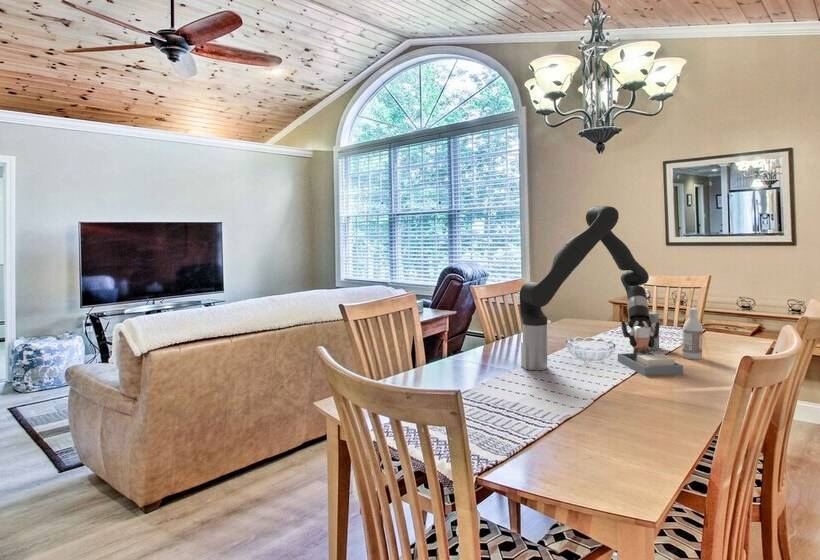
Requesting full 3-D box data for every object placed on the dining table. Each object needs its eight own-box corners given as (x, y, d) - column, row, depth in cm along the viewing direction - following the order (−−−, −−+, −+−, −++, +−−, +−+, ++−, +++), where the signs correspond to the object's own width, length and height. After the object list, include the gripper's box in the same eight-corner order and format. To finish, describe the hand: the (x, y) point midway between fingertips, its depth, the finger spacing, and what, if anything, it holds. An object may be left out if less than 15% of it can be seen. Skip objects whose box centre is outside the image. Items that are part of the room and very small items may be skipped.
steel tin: (637, 362, 190) (638, 328, 189) (630, 358, 196) (630, 326, 195) (652, 362, 191) (653, 328, 189) (644, 358, 196) (645, 325, 195)
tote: (644, 378, 178) (644, 367, 178) (617, 363, 198) (617, 353, 198) (682, 376, 179) (683, 365, 179) (652, 362, 199) (652, 352, 198)
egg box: (647, 373, 180) (647, 360, 180) (637, 368, 187) (637, 355, 187) (674, 372, 181) (674, 358, 180) (663, 367, 188) (663, 354, 187)
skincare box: (655, 351, 216) (656, 314, 214) (637, 349, 220) (638, 313, 219) (659, 347, 223) (660, 311, 221) (642, 345, 227) (643, 310, 225)
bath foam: (698, 360, 199) (700, 310, 197) (679, 357, 204) (681, 309, 202) (704, 357, 204) (705, 308, 202) (685, 354, 209) (687, 306, 207)
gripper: (619, 304, 200) (623, 340, 190) (659, 304, 196) (665, 341, 186) (617, 314, 206) (621, 350, 196) (656, 315, 202) (661, 352, 192)
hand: (642, 346), depth 191 cm, fingers closed on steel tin, 5 cm apart
